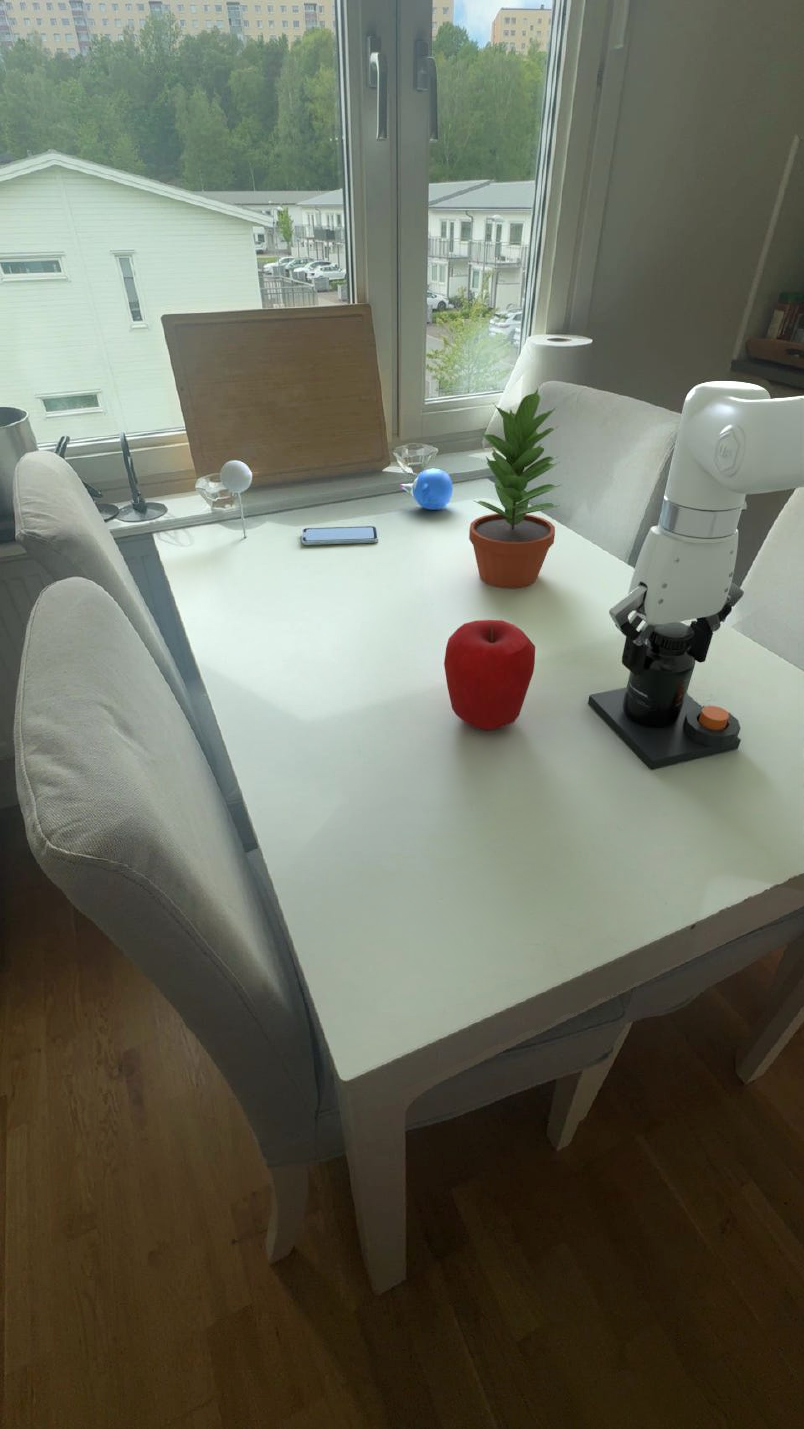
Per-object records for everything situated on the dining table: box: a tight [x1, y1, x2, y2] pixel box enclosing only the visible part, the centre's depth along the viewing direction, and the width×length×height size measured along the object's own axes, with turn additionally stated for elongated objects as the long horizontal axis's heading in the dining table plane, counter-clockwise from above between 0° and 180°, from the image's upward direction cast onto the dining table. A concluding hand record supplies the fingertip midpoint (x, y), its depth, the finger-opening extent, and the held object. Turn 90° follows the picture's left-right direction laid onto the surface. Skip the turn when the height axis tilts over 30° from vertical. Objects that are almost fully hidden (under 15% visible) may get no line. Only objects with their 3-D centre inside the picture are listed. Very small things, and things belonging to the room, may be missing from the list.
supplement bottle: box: [623, 621, 696, 728], centre depth 81 cm, size 7×7×12 cm
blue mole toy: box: [399, 468, 454, 511], centre depth 147 cm, size 12×12×8 cm
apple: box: [443, 619, 536, 732], centre depth 82 cm, size 10×10×14 cm
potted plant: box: [468, 388, 563, 589], centre depth 111 cm, size 15×15×30 cm
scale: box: [587, 687, 742, 771], centre depth 83 cm, size 14×12×3 cm
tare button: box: [699, 705, 729, 730], centre depth 80 cm, size 3×3×2 cm
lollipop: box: [219, 460, 253, 538], centre depth 133 cm, size 6×6×15 cm
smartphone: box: [301, 525, 379, 546], centre depth 136 cm, size 7×1×15 cm
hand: (663, 662), depth 80 cm, fingers open, 8 cm apart
